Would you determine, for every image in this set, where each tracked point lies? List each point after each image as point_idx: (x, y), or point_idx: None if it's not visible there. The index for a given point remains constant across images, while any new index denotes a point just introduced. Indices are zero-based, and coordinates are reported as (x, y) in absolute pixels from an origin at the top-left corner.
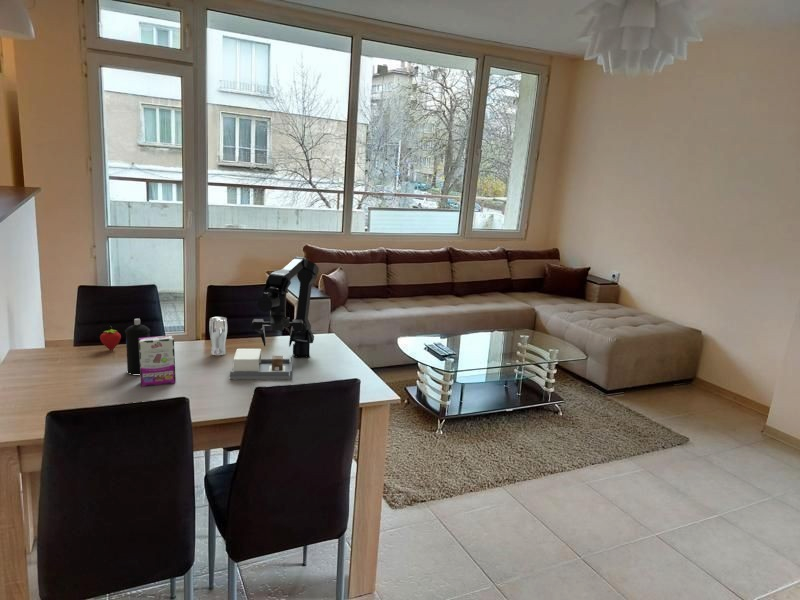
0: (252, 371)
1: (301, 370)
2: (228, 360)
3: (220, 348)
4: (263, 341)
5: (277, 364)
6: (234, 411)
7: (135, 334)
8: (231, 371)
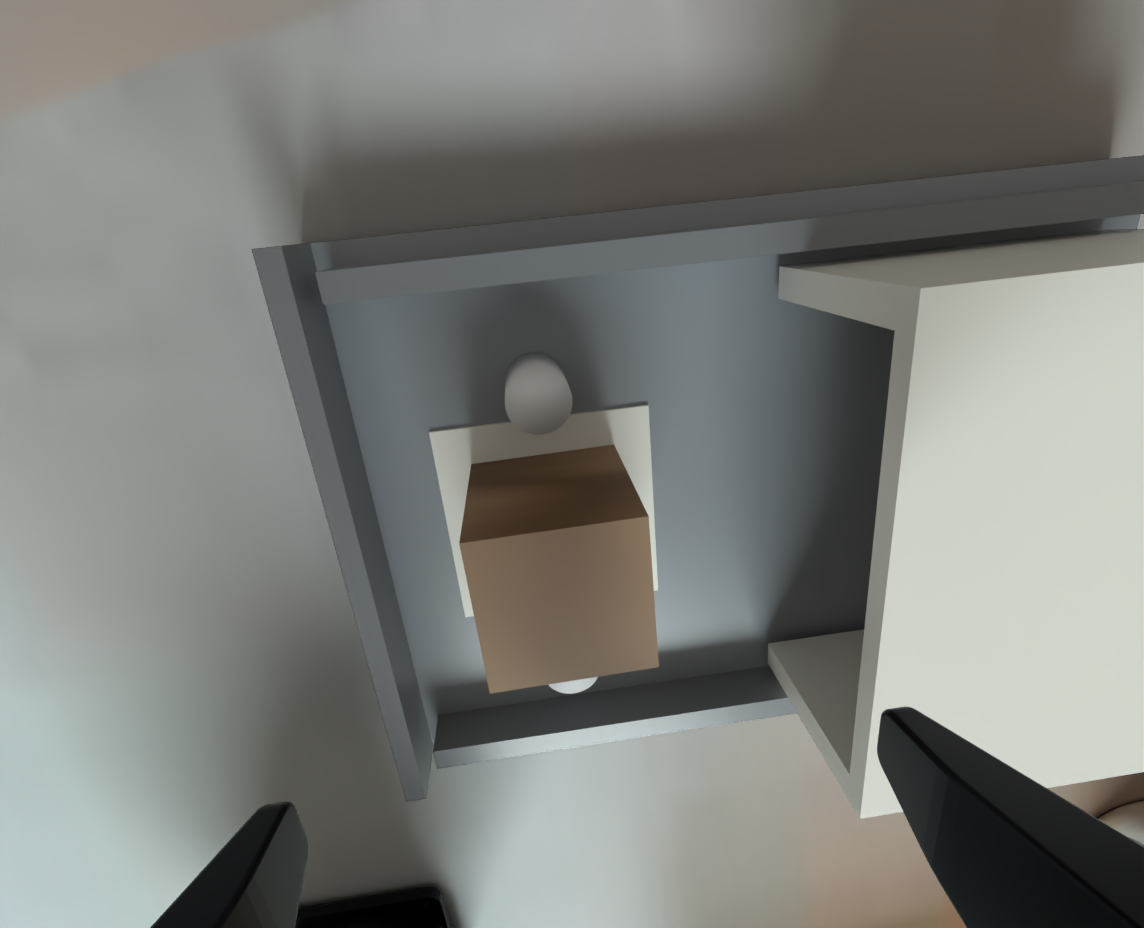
0: (892, 233)
1: (259, 578)
2: None
3: None
4: (1045, 802)
5: (544, 488)
6: None
7: None
8: None
